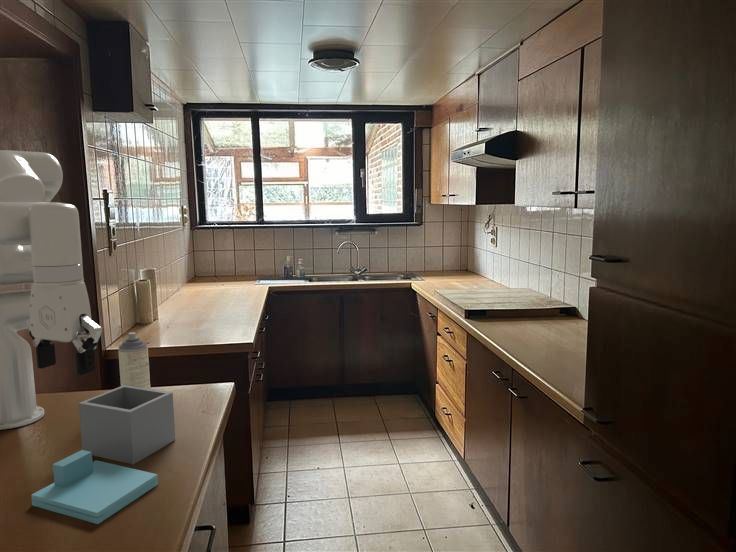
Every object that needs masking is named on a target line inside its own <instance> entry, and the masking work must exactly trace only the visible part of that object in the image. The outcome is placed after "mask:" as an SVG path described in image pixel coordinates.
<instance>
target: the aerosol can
mask: <svg viewBox="0 0 736 552" xmlns="http://www.w3.org/2000/svg"><path fill="white" fill-rule="evenodd" d="M118 364H119V376H120V378H119V380H120V386H123V385H127V386H134V387H140V388H147V389H151V381H150V380H151V379H150V378H151V377H150V376H151V375H150V361H149V346H148V344H147V342H145V341H143V339H141V338H139V337H138V336H137V333H136V332H133V331H132V332H128V337H127V338H126V339H125V340H124V341H122V344H120V345H119V346H118Z"/></svg>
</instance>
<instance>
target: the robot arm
mask: <svg viewBox="0 0 736 552" xmlns="http://www.w3.org/2000/svg"><path fill="white" fill-rule="evenodd" d="M63 177H64V174H63V169H62V166H61V164H60V162H59V160H58V159H57V158H56V157H55V156H54V155H52V154H50V153H48V152H41V151H40V152H39V151H27V150H26V151H25V150H9V149H3V150H2V149H0V287H7V286H10V287H11V286H19V285H21V286H22V285H31V287H30V289H21V290H20V289H19V290H8V291H0V430H8V429H17V428H19V427H23V426H27V425H30V424H32V423H35V422H37V421H39V420H41V418H43V417H44V416H45V408H43V407H42V406H39V405H37V398H36V397H37V395H36V388H35V387H36V386H35V375H34V365H33V354H32V347H31V345H30V343H29V342H28V340H26V339H25V338H23V337H22V336H20V335H19V334H18V333H17V332H18V331H23V330H28V331H29V332H28V333H29V336H30V337H31V340H33V341H32V344H33V346H34V347H35V352H36V364H37V368H38V369H41V370H42V369H45V368H48V367H51V366H55V365H56V364H57V360H56V359H57V358H56V345H55V343H54V342H58V343H59V342H60V343H70V342H72V344H73V345H74V347H75V348H76V350H77V351H78V352H76V353H75V359H76V360H75V361H76V362H75V363H76V373H77V375H79V376H83V375H86V374H89V373H91V372H94V371H95V369H96V363H95V362H96V361H95V350H96V349H97V348H98V347H97V345H99V343H100V340H101V339H100V337H101V335H102V332H103V327H102V326H100V325H99V324H98V323H96V322H95V321H94V320H92V313H91V312H92V311H91V305H90V298H89V294H88V290H87V286H86V283H85V278H84V269H83V266H84V265H83V254H82V253H83V252H82V240H81V228H80V227H81V226H80V216H79V215H80V213H79V210H78V208H77V207H76V205H74V204H71V203H65V202H56V201H52V200H53V199H54V197H55V196H56V195H57V193H58V192H59V190H60V189H61V187H62V184H63V179H64V178H63ZM82 340H84V342H82Z"/></svg>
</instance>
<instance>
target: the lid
mask: <svg viewBox="0 0 736 552" xmlns="http://www.w3.org/2000/svg"><path fill="white" fill-rule="evenodd" d="M52 470H53V471H52V472H53V480H54V481H53V483H50V484H49V485H47V486H45V487H43V488H41V489H39V490H38V491H35V492H34V493H32V494H30V495H31V504H32V506H33V507H35V508H36V507H37V508H40V509H43V510H46V511H50V512H53V513H57V514H60V515H65V516H68V517H71V518H74V519H78V520H82V521H85V522H88V523H93V524H95V525H100V524H101V523H102V522H104V521H105V520H107V519H108V518H110V517H111V516H113V515H114V514H115V513H117V512H119V511H121V510H122V509H123V508H125V507H127V506H128V505H130V504H131V503H132V502H134V501H136V500H137V499H139V498H140V497H142V496H143V495H144V494H145V493H147V492H149V491H150V490H152V489H153V488H155V487H157V486H158V485H159V480H158V479H159V478H158V476H159V475H158V474H157V473H154V472H149V471H145V470H141V469H136V468H130V467H127V466H123V465H119V464H114V463H109V462H105V461H100V460H94V461H93V455H92V452H89V451H85V450H82V449H81V450H79V451H76V452H74V453H73V454H71V455H69V456H66V457H65V458H62V459H61V460H59V461H57V462H54V463H53V464H52Z"/></svg>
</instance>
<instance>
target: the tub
mask: <svg viewBox="0 0 736 552" xmlns="http://www.w3.org/2000/svg"><path fill="white" fill-rule="evenodd" d="M173 394H174V393H173V392H171V391H167V390H165V391H164V390H159V389H152V388H150V389H147V388H140V387H134V386H127V385H123V386H121V385H120V386H118V387H116V388H114V389H110V390H108V391H105V392H103V393H101V394H98V395H95V396H93V397H91V398H88V399H86V400H83V401H80V402H78V413H79V425H80V435H81V436H80V438H81V450H85V451H89V452H92V456H94V457H99V458H103V459H108V460H112V461H115V462H116V461H117V462H121V463H124V464H130V465H135V464H136V463H139V462H140V461H141V460H144V459H145V458H147V457H149V456H150V455H152V454H154V453H156V452H157V451H159V450H160V449H163V448H164V447H166V446H168V445H169V444H171V443H172V442H174V441H176V427H175V426H176V425H175V412H174V411H175V410H174V409H175V408H174V395H173Z"/></svg>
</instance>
